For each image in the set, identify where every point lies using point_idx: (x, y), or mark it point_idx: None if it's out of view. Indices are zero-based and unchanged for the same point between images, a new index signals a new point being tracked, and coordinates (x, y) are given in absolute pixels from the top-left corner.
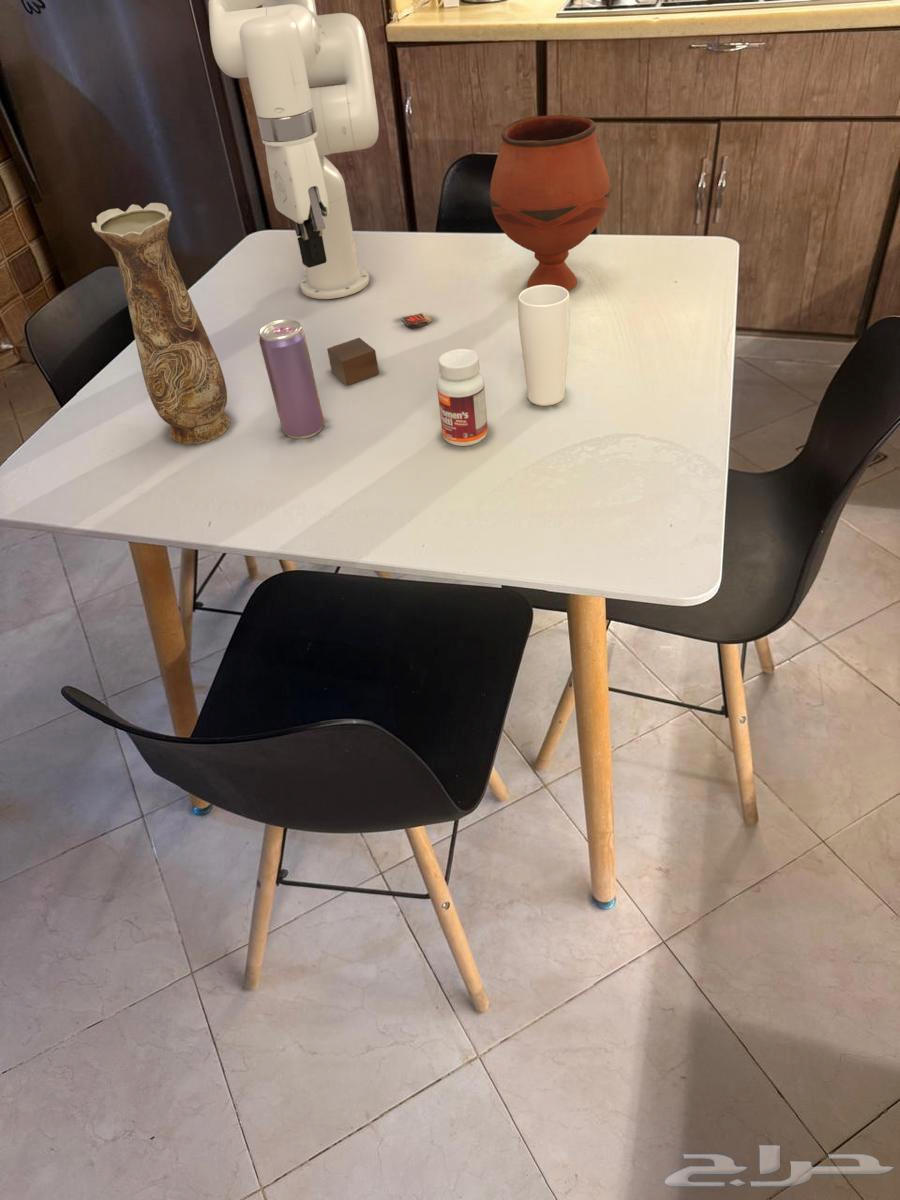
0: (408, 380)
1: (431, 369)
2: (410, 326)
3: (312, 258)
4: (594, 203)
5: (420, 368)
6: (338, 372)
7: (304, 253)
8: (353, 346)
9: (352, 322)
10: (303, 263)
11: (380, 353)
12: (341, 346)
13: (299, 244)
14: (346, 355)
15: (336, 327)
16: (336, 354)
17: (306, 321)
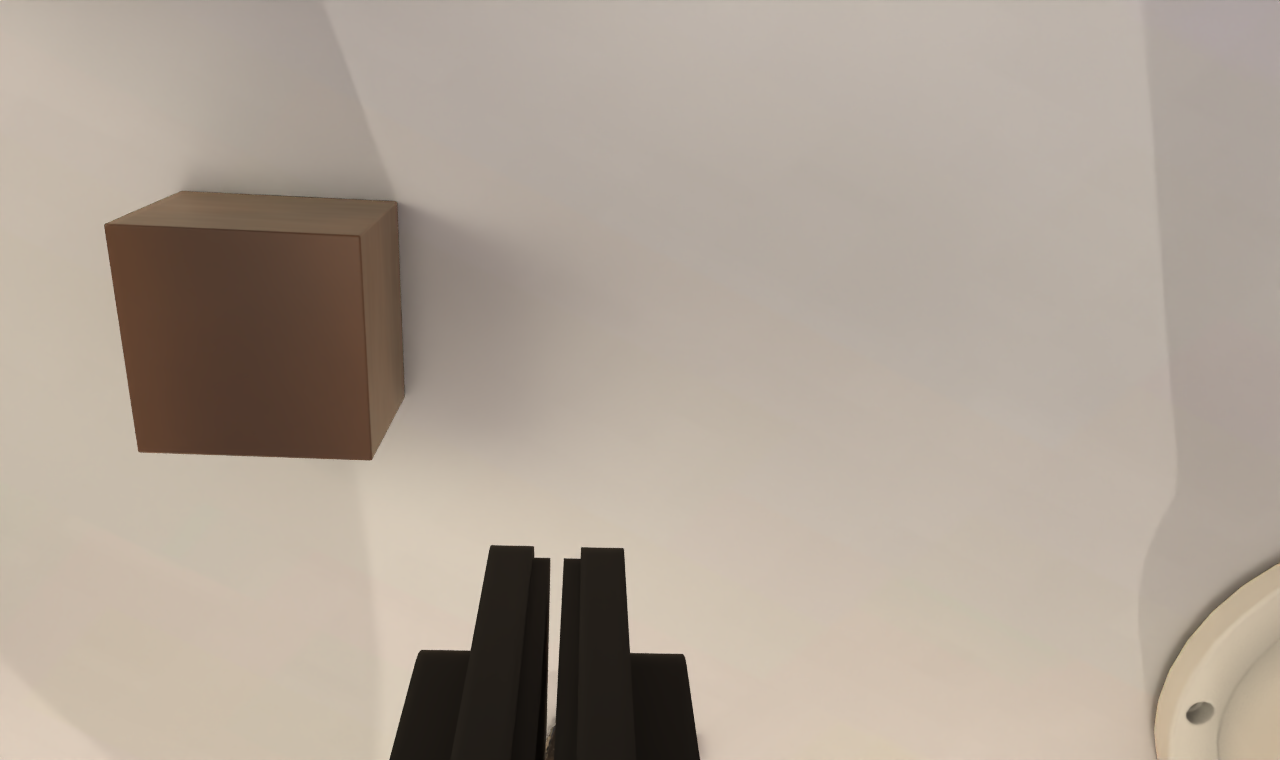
0: (48, 467)
1: (96, 598)
2: None
3: (420, 664)
4: None
5: (139, 567)
6: (265, 204)
7: (475, 648)
8: (270, 377)
9: (873, 561)
10: (599, 551)
11: (429, 502)
12: (322, 321)
13: (603, 716)
14: (171, 285)
15: (893, 475)
16: (230, 242)
17: (1109, 387)
